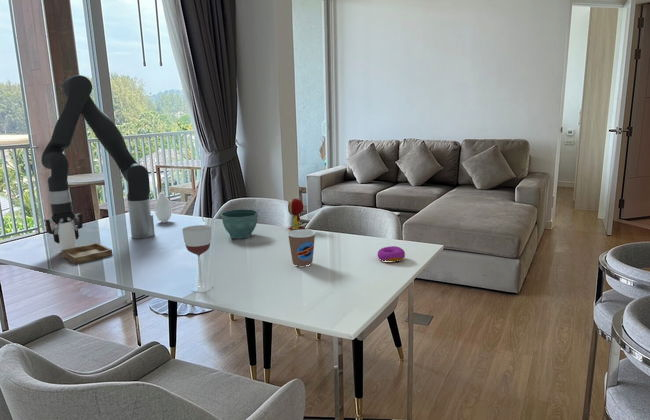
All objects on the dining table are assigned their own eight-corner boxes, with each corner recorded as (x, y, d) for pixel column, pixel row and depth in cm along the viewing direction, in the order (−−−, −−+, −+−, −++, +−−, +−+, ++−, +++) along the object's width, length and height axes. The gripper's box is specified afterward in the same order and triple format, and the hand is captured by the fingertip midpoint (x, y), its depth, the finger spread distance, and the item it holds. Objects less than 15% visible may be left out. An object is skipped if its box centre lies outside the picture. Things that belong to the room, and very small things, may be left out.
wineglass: (190, 284, 159) (185, 225, 155) (216, 283, 160) (212, 224, 156) (185, 293, 151) (180, 232, 147) (213, 292, 152) (208, 230, 148)
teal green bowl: (266, 234, 219) (265, 211, 217) (242, 243, 206) (240, 218, 204) (239, 230, 228) (238, 207, 226) (215, 238, 215) (213, 214, 212)
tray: (98, 248, 202) (97, 242, 202) (112, 255, 192) (111, 249, 191) (62, 256, 193) (61, 250, 192) (75, 264, 182) (74, 257, 182)
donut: (379, 255, 186) (379, 244, 185) (405, 256, 184) (406, 245, 183) (375, 263, 176) (375, 251, 175) (404, 265, 174) (404, 253, 173)
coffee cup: (295, 270, 170) (294, 238, 168) (284, 262, 179) (283, 231, 176) (321, 265, 175) (320, 234, 172) (309, 258, 184) (308, 227, 181)
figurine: (288, 227, 231) (287, 196, 228) (308, 227, 229) (307, 197, 226) (284, 232, 222) (283, 200, 219) (305, 232, 221) (304, 200, 218)
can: (69, 252, 195) (65, 223, 192) (55, 251, 196) (51, 223, 193) (80, 247, 201) (76, 219, 198) (67, 247, 202) (62, 219, 200)
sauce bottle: (153, 223, 244) (150, 189, 240) (161, 220, 251) (158, 186, 247) (168, 224, 242) (164, 189, 239) (175, 220, 250) (172, 186, 246)
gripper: (76, 197, 202) (82, 235, 205) (38, 203, 192) (44, 243, 195) (82, 199, 196) (88, 238, 200) (44, 205, 186) (50, 246, 190)
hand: (66, 240), depth 198 cm, fingers closed on can, 6 cm apart
